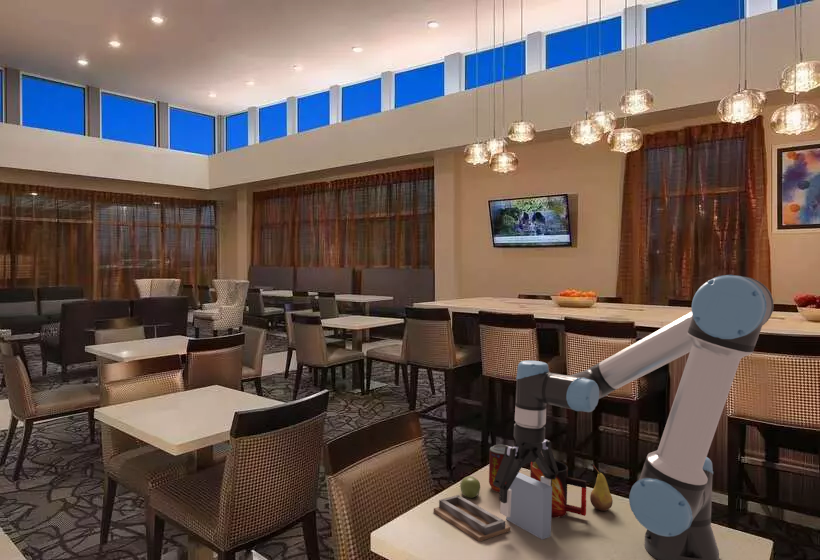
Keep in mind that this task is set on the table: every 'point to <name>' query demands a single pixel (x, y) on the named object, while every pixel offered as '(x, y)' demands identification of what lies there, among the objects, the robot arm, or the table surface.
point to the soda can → (495, 463)
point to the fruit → (601, 493)
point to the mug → (562, 490)
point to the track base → (471, 518)
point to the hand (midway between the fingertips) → (525, 509)
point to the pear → (470, 486)
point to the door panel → (531, 505)
